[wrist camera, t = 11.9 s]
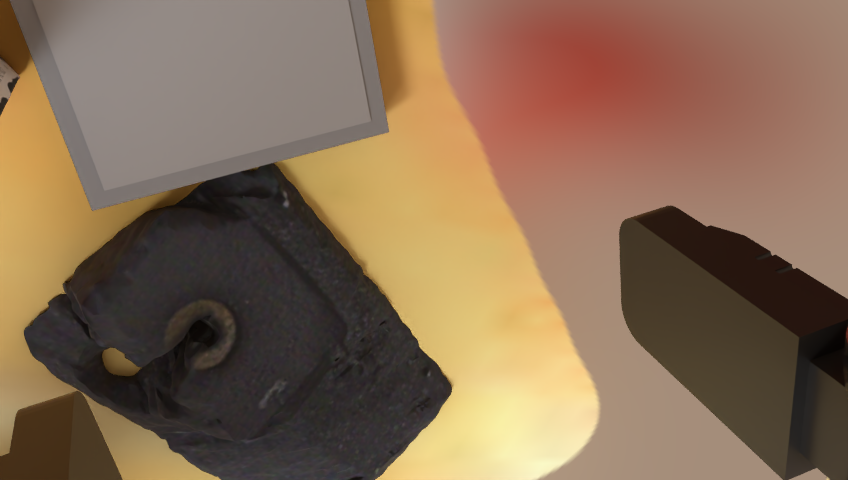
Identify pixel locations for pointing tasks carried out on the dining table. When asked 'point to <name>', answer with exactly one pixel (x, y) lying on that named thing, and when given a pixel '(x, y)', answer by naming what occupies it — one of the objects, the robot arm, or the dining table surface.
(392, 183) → the dining table surface
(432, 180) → the dining table surface
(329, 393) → the dark slate chunk
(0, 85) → the candy bar box
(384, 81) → the dining table surface
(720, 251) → the robot arm
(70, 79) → the slate board
